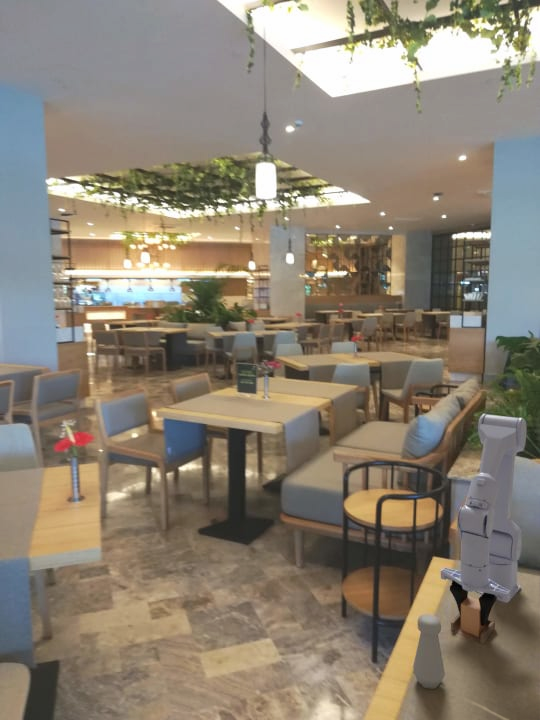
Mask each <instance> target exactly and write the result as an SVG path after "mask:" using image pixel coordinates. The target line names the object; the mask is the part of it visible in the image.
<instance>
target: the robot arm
mask: <svg viewBox="0 0 540 720" xmlns="http://www.w3.org/2000/svg"><path fill="white" fill-rule="evenodd" d="M526 421H527V420H525V418H524V417H516V416H515V417H513V416H503V415H497V414H487V413H482V415H480V417H479V419H478V424H477V434H478V437H479V440H480V443H481V444H482V451H481V456H480V457H481V459H480V464H479V469H478V470H479V472H478V473H477V474H476V475H473V476H472V478H471V481H470V484H469V487H468V488H469V489H468V492H467V495H466V499H465V503H464V506H460V508H459V511H458V512H457V519H456V525H457V526H456V528H457V531H458V539H459V540H460V570H458V569H453V568H449V567H446V566H445V567H443V568H442V569H441V570H440V579H441V580H449V581H451V585H450V586H449V592H450V593H451V594H452V596H453V599H454V600H455V603H456V605H457V609H458V614H460V617H461V603H462V602H463V601H464V600H465V599H466V598H467V597H468V596H469V592H470V593H471V592H473V591H474V592H476V593H479V594H481V595H480V597H479V598H478V600H479V603H480V610H481V617H480V623H481V626H485V625H486V624H487V622H488V619H489V618H490V613H491V611H492V609H493V607H494V604H495V603H496V601H500V602H503V603H505V604H509V602H510V601H511V600H512V598H513V597H514V596H516V594H517V593H518V592H519V590H521V588H522V586H521V584H518V566H519V565H518V561H519V560H520V557H521V554H522V553H521V552H522V547H523V546H522V544H523V541H522V530H521V528H520V527H519V525H518V524H516V522H514V521H513V520H512V519H511V507H512V499H513V497H512V496H513V483H514V472H515V461H516V457H517V454H518V453H521V452H524V451H525V447H526V443H527V441H526V440H527V422H526Z"/></svg>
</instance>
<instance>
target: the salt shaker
mask: <svg viewBox="0 0 540 720" xmlns="http://www.w3.org/2000/svg"><path fill="white" fill-rule="evenodd" d="M417 629H418V631H419V633H420V634H419V638H418V643H417V647H416V648H417V649H416V652H415V655H414V661H413V665H412V667H413V668H412V669H413V674H414V676H415V678H416V681H417V682H418V684H420V685H421V686H422V687H423V688H425V689H431V690H436V688H437V687H439V686H440V685H441V684H442V681H444V680H443V679H444V678H445V675H446V672H445V667H444V661H443V656H442V649H441V645H440V644H441V643H440V637H439V635H440V633H441V630H442V624H441V620H440V619H439V618H438V617H437V616H436V615H434V614H430V613H423V614H421V615H420V616H419V617H418V618H417Z"/></svg>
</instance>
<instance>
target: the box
mask: <svg viewBox="0 0 540 720" xmlns="http://www.w3.org/2000/svg"><path fill="white" fill-rule="evenodd" d="M495 627H496V621H495V620H492V619H490V618H488V622H487V624H486V629H485V630H484V631H483V632H482V634H481V635H480V636H479V637H477V636H475V635H473V634H470V633H468V632H466V631H463V630H461V617H460V614H459V613H458V614H457V615H456V616H455V617H454V619H452V621H450V631H452V632H454V633H457V634H458V635H461V636H464V637H466V638H468V639H471V640H473V641H475V642H478V643H480V644H484V643H485V642H486V641H487V639H488V638H489V637H490V636H491V635H492V633H493V632H494V631H495Z"/></svg>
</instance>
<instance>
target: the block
mask: <svg viewBox="0 0 540 720" xmlns="http://www.w3.org/2000/svg"><path fill="white" fill-rule="evenodd" d="M480 617H481V610H480V603H479V598H475V597H472V596H470V595H468V596H467V598H466V599H465V600H464V601H463V602H462V603H461V630H463V631H466V632H468V633H470V634H473V635H475V636H477V637H479V636H480V635H481V634H482V632H483V631H484V630H485V629H486V625H485V626H481V623H480Z"/></svg>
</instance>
